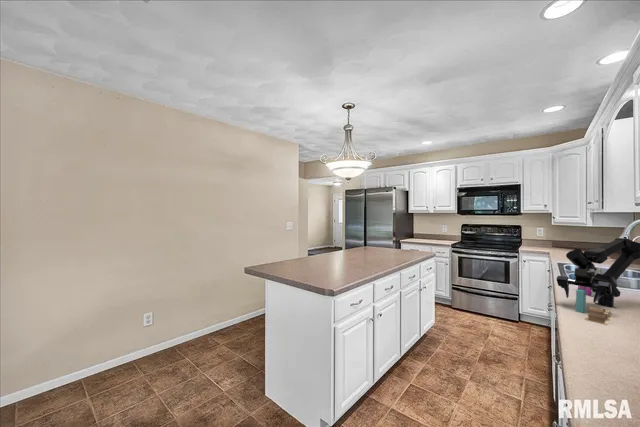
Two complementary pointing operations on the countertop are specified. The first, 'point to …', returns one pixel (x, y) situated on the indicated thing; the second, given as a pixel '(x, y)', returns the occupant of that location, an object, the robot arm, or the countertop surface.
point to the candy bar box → (588, 290)
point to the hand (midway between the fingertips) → (580, 299)
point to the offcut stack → (596, 315)
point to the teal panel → (580, 300)
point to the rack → (606, 312)
